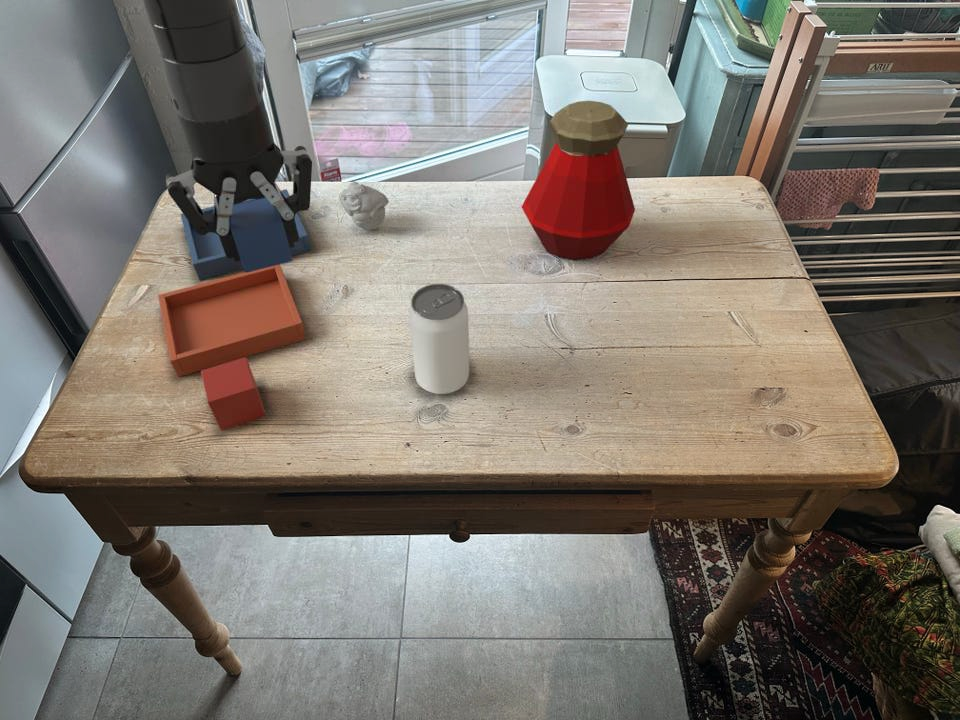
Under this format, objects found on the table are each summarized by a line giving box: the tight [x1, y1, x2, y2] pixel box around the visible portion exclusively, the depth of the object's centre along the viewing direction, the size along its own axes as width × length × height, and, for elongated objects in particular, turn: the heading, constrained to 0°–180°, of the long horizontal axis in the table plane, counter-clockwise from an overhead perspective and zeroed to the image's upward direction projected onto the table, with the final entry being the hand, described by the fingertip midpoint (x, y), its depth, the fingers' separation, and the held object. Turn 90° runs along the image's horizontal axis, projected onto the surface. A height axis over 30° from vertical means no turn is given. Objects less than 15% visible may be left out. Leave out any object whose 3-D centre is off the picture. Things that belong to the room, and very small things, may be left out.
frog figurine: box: [338, 181, 389, 231], centre depth 98 cm, size 6×7×7 cm
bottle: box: [521, 100, 636, 261], centre depth 91 cm, size 16×14×20 cm
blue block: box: [230, 198, 294, 273], centre depth 71 cm, size 5×5×5 cm
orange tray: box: [157, 264, 307, 378], centre depth 85 cm, size 16×13×3 cm
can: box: [408, 283, 470, 395], centre depth 76 cm, size 6×6×12 cm
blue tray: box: [180, 188, 312, 281], centre depth 97 cm, size 16×13×3 cm
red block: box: [200, 356, 266, 431], centre depth 75 cm, size 5×5×5 cm
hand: (263, 250), depth 72 cm, fingers closed on blue block, 5 cm apart
